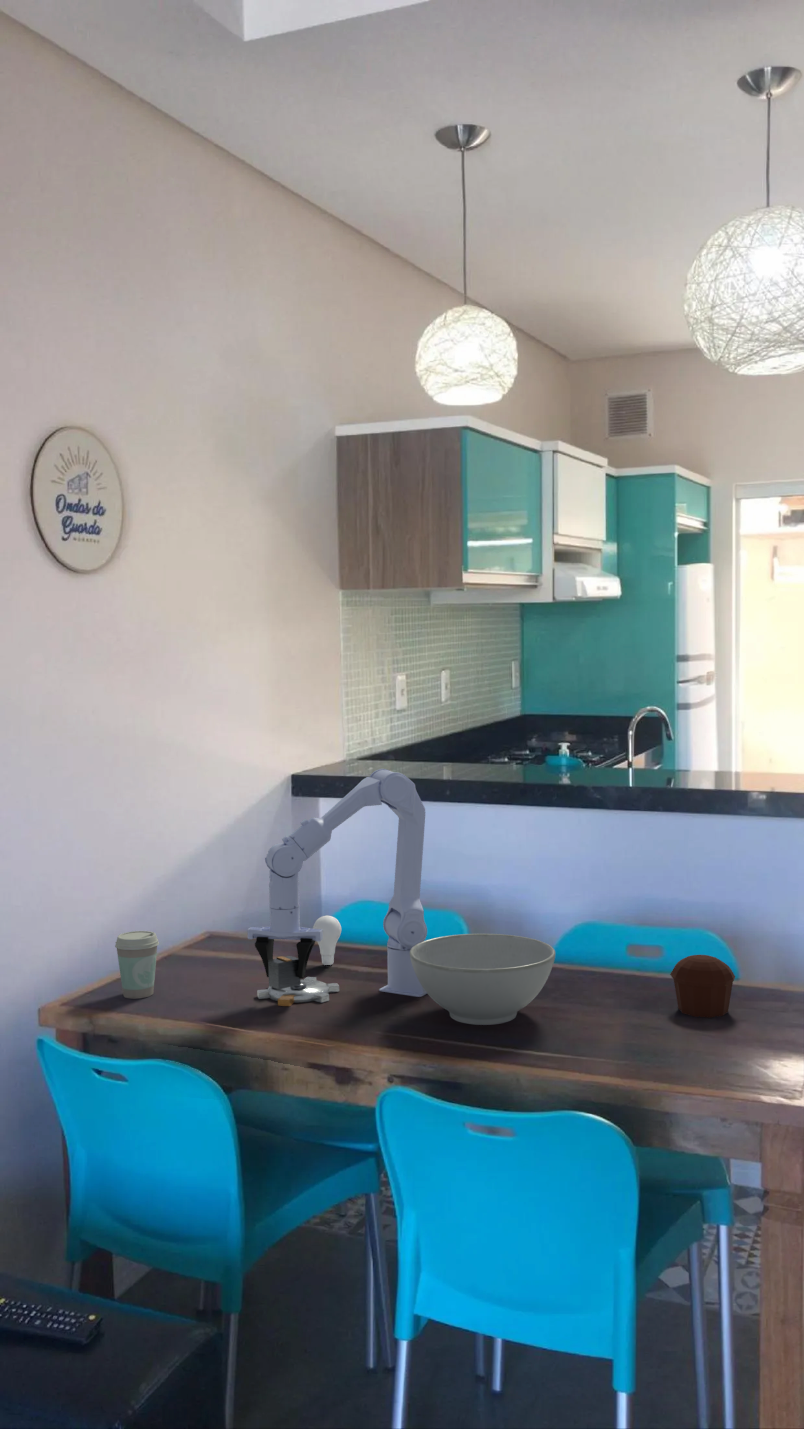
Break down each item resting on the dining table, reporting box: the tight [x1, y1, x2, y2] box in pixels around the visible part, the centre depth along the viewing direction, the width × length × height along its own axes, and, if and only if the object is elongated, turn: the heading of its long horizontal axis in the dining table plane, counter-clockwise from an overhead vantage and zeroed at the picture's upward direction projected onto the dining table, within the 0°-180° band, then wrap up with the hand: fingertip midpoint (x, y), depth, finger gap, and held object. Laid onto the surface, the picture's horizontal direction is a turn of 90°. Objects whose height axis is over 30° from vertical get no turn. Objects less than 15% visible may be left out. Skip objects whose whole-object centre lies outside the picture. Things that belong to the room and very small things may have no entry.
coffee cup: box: [114, 930, 160, 1000], centre depth 236 cm, size 8×8×12 cm
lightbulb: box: [312, 915, 342, 966], centre depth 256 cm, size 6×6×11 cm
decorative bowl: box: [410, 933, 556, 1026], centre depth 219 cm, size 27×27×12 cm
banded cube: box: [268, 955, 301, 989], centre depth 228 cm, size 3×5×5 cm
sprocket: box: [256, 976, 340, 1007], centre depth 234 cm, size 16×16×5 cm
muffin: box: [669, 954, 736, 1019], centre depth 220 cm, size 12×11×10 cm
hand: (285, 976), depth 229 cm, fingers closed on banded cube, 6 cm apart
